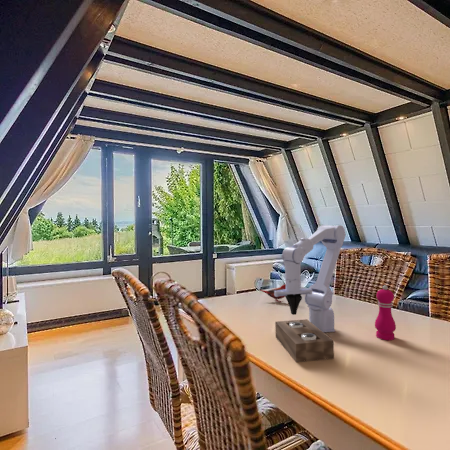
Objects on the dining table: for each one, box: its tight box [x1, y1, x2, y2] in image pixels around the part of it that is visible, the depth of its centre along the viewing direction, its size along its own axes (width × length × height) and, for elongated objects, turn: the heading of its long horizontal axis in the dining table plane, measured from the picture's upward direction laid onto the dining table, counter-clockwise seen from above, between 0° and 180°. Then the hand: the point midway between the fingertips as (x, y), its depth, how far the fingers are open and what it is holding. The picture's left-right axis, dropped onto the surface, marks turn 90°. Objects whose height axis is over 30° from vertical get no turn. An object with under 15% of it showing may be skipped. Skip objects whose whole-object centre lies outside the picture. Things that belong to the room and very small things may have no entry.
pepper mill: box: [374, 284, 397, 341], centre depth 125 cm, size 7×7×20 cm
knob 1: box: [289, 322, 303, 328], centre depth 124 cm, size 5×5×6 cm
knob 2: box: [301, 333, 316, 341], centre depth 112 cm, size 5×5×6 cm
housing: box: [274, 318, 335, 363], centre depth 118 cm, size 13×22×6 cm, turn 8°
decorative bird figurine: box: [259, 283, 286, 303], centre depth 177 cm, size 3×18×10 cm, turn 72°
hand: (293, 313), depth 126 cm, fingers closed
